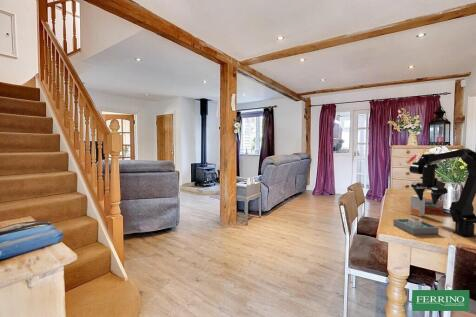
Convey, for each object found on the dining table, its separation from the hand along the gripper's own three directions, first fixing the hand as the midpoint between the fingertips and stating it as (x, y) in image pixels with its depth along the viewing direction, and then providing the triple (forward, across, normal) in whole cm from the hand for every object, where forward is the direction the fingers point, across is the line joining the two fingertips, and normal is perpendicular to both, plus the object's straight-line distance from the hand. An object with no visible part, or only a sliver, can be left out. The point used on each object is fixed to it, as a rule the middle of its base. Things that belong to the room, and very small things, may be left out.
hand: (427, 202), depth 137 cm
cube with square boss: (+10, -12, +16) cm, 23 cm away
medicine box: (+11, +19, -16) cm, 28 cm away
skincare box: (+11, +12, -4) cm, 17 cm away
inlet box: (+11, -12, +16) cm, 23 cm away
